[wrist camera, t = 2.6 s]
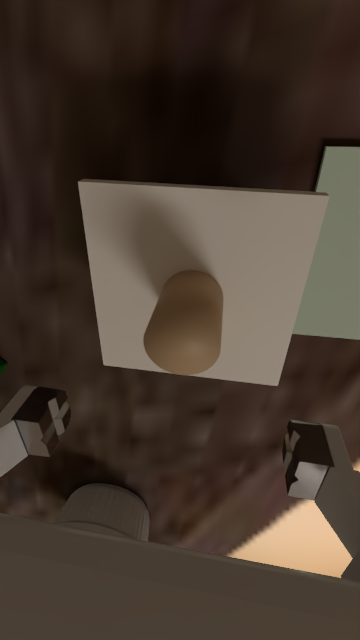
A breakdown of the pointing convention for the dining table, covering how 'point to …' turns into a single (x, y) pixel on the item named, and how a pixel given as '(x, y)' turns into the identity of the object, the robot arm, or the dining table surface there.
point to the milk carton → (2, 365)
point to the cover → (198, 274)
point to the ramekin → (106, 511)
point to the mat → (335, 252)
